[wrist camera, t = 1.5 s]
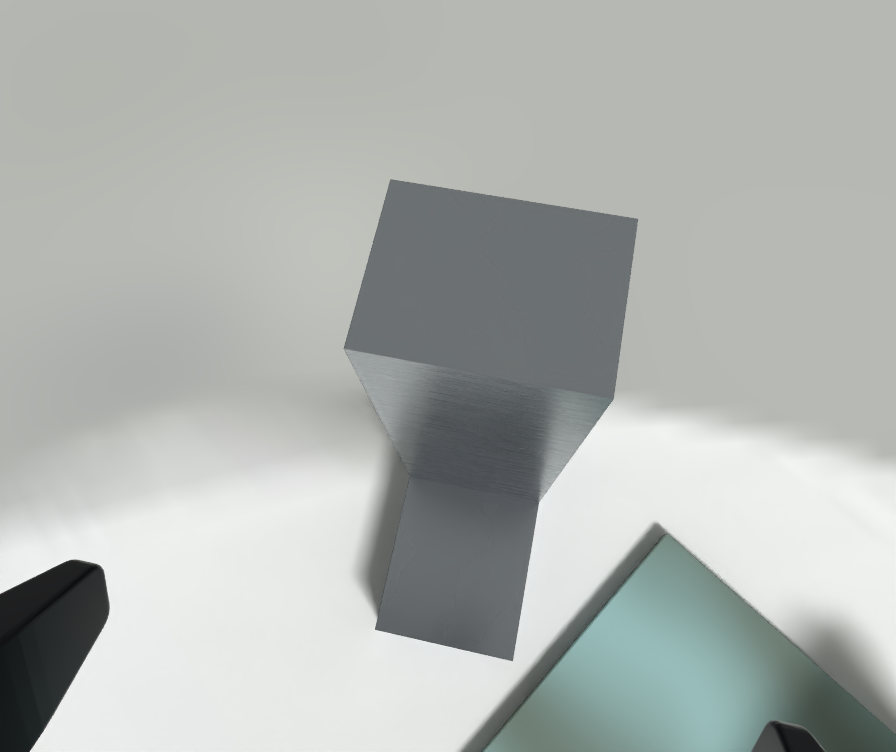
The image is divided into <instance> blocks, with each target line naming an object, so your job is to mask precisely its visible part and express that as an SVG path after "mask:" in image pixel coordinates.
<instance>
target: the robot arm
mask: <svg viewBox="0 0 896 752" xmlns="http://www.w3.org/2000/svg"><path fill="white" fill-rule="evenodd" d="M109 608H110V606H109V599H108V593H107V586H106V580H105V574H104V570H103V569H102V567H101V566H100V565H98V564H94V563H90V562H86V561H81V560H69V561H66V562H64V563H62V564H60V565H58V566H56V567H54V568H52V569H50V570H48V571H46V572H44V573H42V574H40V575H38V576H36V577H34V578H32V579H29V580H27V581H25V582H23V583H21V584H19V585H17V586H15V587H13V588H11V589H9V590H7V591H5V592H3V593H1V594H0V752H30V750H31V749H32V747H33V746H34V744H35V743H36V741H37V740H38V738H39V737H40V735H41V734H42V732H43V731H44V729H45V728H46V726H47V724H48V723H49V721H50V719H51V718H52V716H53V715H54V713H55V711H56V709H57V708H58V706H59V704H60V702H61V701H62V699H63V697H64V695H65V694H66V692H67V690H68V688H69V687H70V685H71V683H72V681H73V680H74V678H75V676H76V674H77V673H78V671H79V669H80V667H81V666H82V664H83V662H84V660H85V659H86V657H87V655H88V653H89V652H90V650H91V648H92V646H93V645H94V643H95V641H96V639H97V638H98V636H99V634H100V632H101V631H102V629H103V627H104V625H105V623H106V621H107V618H108V615H109ZM751 752H826V751H825V750H824V749H823V748H822V746H821V745H820V744H819V743H818V741H817V740H816V739H815V737H814V736H813V735H812V734H811V733H810V732H809V731H808V730H807V729H806V728H804V727H802V726H800V725H796V724H792V723H788V722H783V721H779V720H771V721H769V722H767V724H766V725H765V727H764V729H763V730H762V732H761V734H760V736H759V738H758V740H757V741H756V743H755V745H754V747H753V749H752V751H751Z"/></svg>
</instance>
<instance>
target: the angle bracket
mask: <svg viewBox="0 0 896 752" xmlns="http://www.w3.org/2000/svg"><path fill="white" fill-rule="evenodd" d="M637 223H638V219H634V218H629V217H623V216H617V215H610V214H604V213H598V212H592V211H585V210H579V209H573V208H566V207H560V206H554V205H547V204H541V203H535V202H529V201H523V200H516V199H510V198H504V197H497V196H491V195H485V194H479V193H472V192H466V191H460V190H453V189H447V188H441V187H435V186H428V185H422V184H416V183H410V182H404V181H397V180H390V183H389V187H388V190H387V194H386V198H385V201H384V205H383V209H382V212H381V216H380V219H379V223H378V227H377V231H376V234H375V237H374V241H373V245H372V248H371V252H370V256H369V259H368V263H367V267H366V270H365V274H364V277H363V281H362V284H361V288H360V292H359V295H358V299H357V303H356V306H355V310H354V313H353V317H352V321H351V324H350V328H349V332H348V335H347V339H346V342H345V346H344V350H345V352H346V354H347V356H348V358H349V360H350V362H351V364H352V366H353V367H354V369H355V371H356V373H357V375H358V377H359V379H360V381H361V383H362V385H363V387H364V389H365V391H366V393H367V394H368V396H369V398H370V400H371V402H372V404H373V406H374V408H375V410H376V412H377V414H378V416H379V418H380V420H381V421H382V423H383V425H384V427H385V429H386V431H387V433H388V435H389V437H390V439H391V441H392V443H393V445H394V447H395V448H396V450H397V452H398V454H399V456H400V458H401V460H402V462H403V464H404V466H405V468H406V470H407V472H408V474H409V475H410V478H409V483H408V487H407V492H406V496H405V500H404V505H403V509H402V513H401V518H400V522H399V527H398V531H397V535H396V540H395V544H394V548H393V553H392V557H391V562H390V566H389V570H388V575H387V579H386V584H385V588H384V592H383V597H382V601H381V605H380V610H379V614H378V619H377V623H376V627H375V630H379V631H383V632H388V633H392V634H397V635H401V636H405V637H410V638H414V639H418V640H423V641H427V642H431V643H436V644H440V645H445V646H449V647H453V648H458V649H462V650H466V651H471V652H475V653H480V654H484V655H488V656H493V657H497V658H501V659H506V660H510V661H513V656H514V650H515V644H516V638H517V632H518V626H519V620H520V614H521V608H522V602H523V596H524V590H525V584H526V578H527V571H528V565H529V559H530V553H531V547H532V541H533V535H534V529H535V523H536V517H537V511H538V505H539V502H540V500H541V499H542V498H543V496H544V495H545V493H546V492H547V491H548V489H549V488H550V487H551V485H552V484H553V482H554V481H555V480H556V478H557V477H558V475H559V474H560V473H561V471H562V470H563V468H564V467H565V466H566V464H567V463H568V462H569V460H570V459H571V457H572V456H573V455H574V453H575V452H576V450H577V449H578V448H579V446H580V445H581V444H582V442H583V441H584V439H585V438H586V437H587V435H588V434H589V432H590V431H591V430H592V428H593V427H594V426H595V424H596V423H597V421H598V420H599V419H600V417H601V416H602V414H603V413H604V412H605V410H606V409H607V407H608V406H609V405H610V403H611V402H612V401H613V399H614V392H615V385H616V377H617V370H618V363H619V355H620V348H621V341H622V333H623V326H624V319H625V311H626V304H627V297H628V289H629V282H630V275H631V267H632V260H633V253H634V245H635V238H636V231H637Z"/></svg>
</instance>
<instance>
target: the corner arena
mask: <svg viewBox="0 0 896 752" xmlns="http://www.w3.org/2000/svg"><path fill="white" fill-rule="evenodd" d="M771 720H779V721H783V722H788V723H792V724H796V725H800V726H802V727H804V728H806V729H807V730H808V731H809V732H810V733H811V734H812V735H813V736H814V737H815V739H816V740H817V741H818V743H819V744H820V745H821V746H822V748H823V749H824V750H825V751H826V752H896V735H895V734H894V733H893V732H892V731H891V730H890V729H888V728H887V727H886V726H885V725H884V724H883V723H882V722H880V721H879V720H878V719H877V718H876V717H875V716H874V715H872V714H871V713H870V712H869V711H868V710H867V709H866V708H865V707H863V706H862V705H861V704H860V703H859V702H858V701H857V700H855V699H854V698H853V697H852V696H851V695H850V694H849V693H848V692H846V691H845V690H844V689H843V688H842V687H841V686H840V685H838V684H837V683H836V682H835V681H834V680H833V679H832V678H831V677H829V676H828V675H827V674H826V673H825V672H824V671H823V670H821V669H820V668H819V667H818V666H817V665H816V664H815V663H814V662H812V661H811V660H810V659H809V658H808V657H807V656H806V655H804V654H803V653H802V652H801V651H800V650H799V649H798V648H797V647H795V646H794V645H793V644H792V643H791V642H790V641H789V640H787V639H786V638H785V637H784V636H783V635H782V634H781V633H780V632H778V631H777V630H776V629H775V628H774V627H773V626H772V625H770V624H769V623H768V622H767V621H766V620H765V619H764V618H762V617H761V616H760V615H759V614H758V613H757V612H756V611H755V610H753V609H752V608H751V607H750V606H749V605H748V604H747V603H745V602H744V601H743V600H742V599H741V598H740V597H739V596H738V595H736V594H735V593H734V592H733V591H732V590H731V589H730V588H728V587H727V586H726V585H725V584H724V583H723V582H722V581H721V580H719V579H718V578H717V577H716V576H715V575H714V574H713V573H711V572H710V571H709V570H708V569H707V568H706V567H705V566H704V565H702V564H701V563H700V562H699V561H698V560H697V559H696V558H694V557H693V556H692V555H691V554H690V553H689V552H688V551H687V550H685V549H684V548H683V547H682V546H681V545H680V544H679V543H677V542H676V541H675V540H674V539H673V538H672V537H671V536H670V535H668V534H666V535H664V536H663V537H662V538H661V539H660V540H659V542H658V543H657V544H656V545H655V546H654V548H653V549H652V550H651V551H650V552H649V553H648V555H647V556H646V557H645V558H644V559H643V561H642V562H641V563H640V564H639V565H638V567H637V568H636V569H635V570H634V571H633V572H632V574H631V575H630V576H629V577H628V578H627V580H626V581H625V582H624V583H623V584H622V586H621V587H620V588H619V589H618V590H617V591H616V593H615V594H614V595H613V596H612V597H611V599H610V600H609V601H608V602H607V603H606V605H605V606H604V607H603V608H602V609H601V610H600V612H599V613H598V614H597V615H596V616H595V618H594V619H593V620H592V621H591V622H590V624H589V625H588V626H587V627H586V628H585V629H584V631H583V632H582V633H581V634H580V635H579V637H578V638H577V639H576V640H575V641H574V643H573V644H572V645H571V646H570V647H569V648H568V650H567V651H566V652H565V653H564V654H563V656H562V657H561V658H560V659H559V660H558V662H557V663H556V664H555V665H554V666H553V667H552V669H551V670H550V671H549V672H548V673H547V675H546V676H545V677H544V678H543V679H542V681H541V682H540V683H539V684H538V685H537V686H536V688H535V689H534V690H533V691H532V692H531V694H530V695H529V696H528V697H527V698H526V700H525V701H524V702H523V703H522V704H521V705H520V707H519V708H518V709H517V710H516V711H515V713H514V714H513V715H512V716H511V717H510V719H509V720H508V721H507V722H506V723H505V724H504V726H503V727H502V728H501V729H500V730H499V732H498V733H497V734H496V735H495V736H494V738H493V739H492V740H491V741H490V742H489V743H488V745H487V746H486V747H485V748H484V749H483V751H482V752H751V751H752V749H753V747H754V745H755V743H756V741H757V740H758V738H759V736H760V734H761V732H762V730H763V729H764V727H765V725H766V724H767V722H769V721H771Z"/></svg>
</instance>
